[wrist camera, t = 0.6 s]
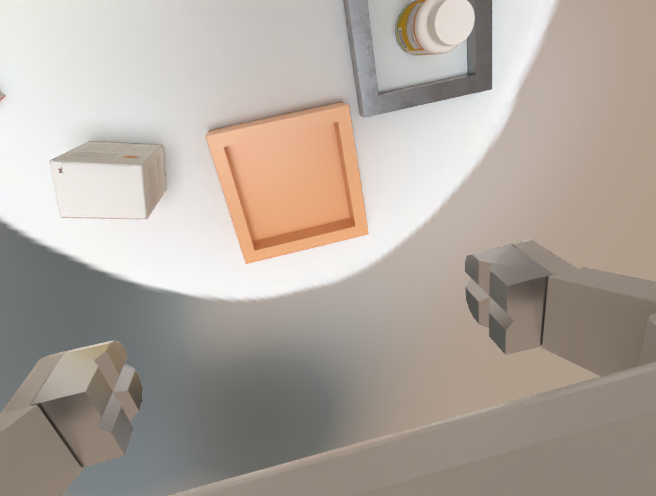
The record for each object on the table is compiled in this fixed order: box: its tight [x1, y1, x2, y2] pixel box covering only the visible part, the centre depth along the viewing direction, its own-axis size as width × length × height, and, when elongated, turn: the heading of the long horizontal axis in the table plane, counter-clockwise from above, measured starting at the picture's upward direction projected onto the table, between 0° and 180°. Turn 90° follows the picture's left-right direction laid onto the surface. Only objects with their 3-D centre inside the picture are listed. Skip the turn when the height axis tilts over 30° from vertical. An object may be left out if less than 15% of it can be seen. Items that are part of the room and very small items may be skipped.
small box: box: [50, 141, 166, 219], centre depth 42 cm, size 8×6×10 cm
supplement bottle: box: [396, 0, 475, 55], centre depth 42 cm, size 5×5×10 cm
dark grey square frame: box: [344, 0, 492, 117], centre depth 45 cm, size 16×16×2 cm
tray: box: [206, 102, 369, 264], centre depth 49 cm, size 16×16×4 cm
